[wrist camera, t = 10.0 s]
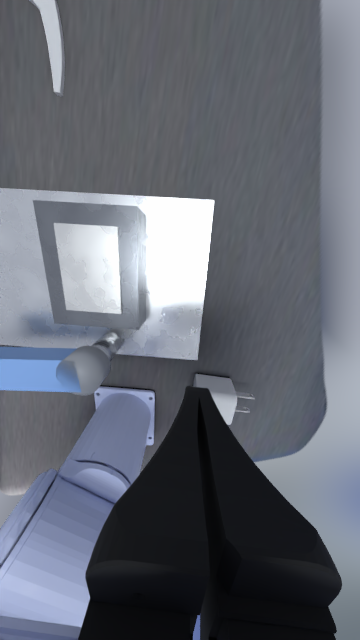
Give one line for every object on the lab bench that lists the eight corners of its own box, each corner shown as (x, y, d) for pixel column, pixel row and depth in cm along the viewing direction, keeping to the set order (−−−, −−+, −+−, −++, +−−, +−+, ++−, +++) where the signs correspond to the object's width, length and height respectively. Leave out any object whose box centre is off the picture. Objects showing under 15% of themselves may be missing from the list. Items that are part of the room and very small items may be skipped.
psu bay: (197, 355, 22) (199, 383, 17) (4, 340, 22) (-47, 363, 17) (212, 203, 16) (222, 180, 12) (-38, 189, 17) (-128, 161, 12)
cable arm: (108, 346, 16) (96, 357, 14) (112, 380, 17) (103, 396, 15) (-73, 342, 16) (-107, 353, 14) (-56, 375, 17) (-86, 389, 16)
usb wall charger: (195, 371, 22) (197, 393, 19) (250, 378, 22) (262, 403, 19) (191, 396, 24) (191, 422, 20) (242, 403, 24) (252, 431, 20)
